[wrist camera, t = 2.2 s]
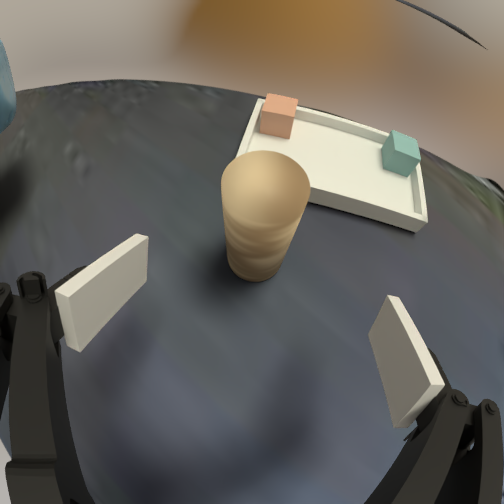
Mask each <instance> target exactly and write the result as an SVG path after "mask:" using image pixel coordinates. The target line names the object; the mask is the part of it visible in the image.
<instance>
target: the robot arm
mask: <svg viewBox="0 0 504 504" xmlns="http://www.w3.org/2000/svg"><path fill="white" fill-rule="evenodd" d="M15 113H16V94H15V88H14V83H13V78H12V74H11V70H10V66H9V62H8V58H7V55H6V52H5V49H4V46H3V43H2V42H1V40H0V133H1V132H2V131H4V130H5V129H6V128H7V127H8V126H9V125H10V123H11V122H12V120H13V119H14V116H15ZM148 238H149V237H148V236H144V235H140V234H135V235H134V236H132V237H131V238H129V239H127V240H126V241H124V242H123V243H121V244H120V245H118V246H117V247H115V248H114V249H112V250H111V251H109V252H108V253H106V254H105V255H103V256H102V257H101V258H99V259H98V260H96V261H95V262H93V263H92V264H90V265H89V266H83V267H80V268H77V269H75V270H74V271H72V272H71V273H69V275H67V276H65V277H64V278H63V279H61V280H60V281H58V282H57V283H55V284H54V285H53V286H51V287H50V288H49V289H47V285H46V280H45V275H44V274H43V273H40V272H35V271H32V272H27V273H24V274H22V275H21V276H20V277H18V279H17V286H18V290H19V295H20V296H17V295H12V292H11V288H10V285H9V284H7V283H0V419H1V415H2V410H3V406H4V402H5V398H6V394H7V390H8V387H9V425H10V440H11V450H12V460H11V461H10V462H7V464H6V467H5V472H6V480H7V486H8V491H9V496H10V500H11V504H95V503H94V501H93V499H92V497H91V495H90V494H89V492H88V490H87V487H86V485H85V482H84V478H83V475H82V472H81V469H80V465H79V461H78V458H77V454H76V450H75V446H74V442H73V437H72V432H71V427H70V422H69V417H68V411H67V405H66V398H65V390H64V382H63V372H62V359H61V345H60V342H59V340H60V339H61V338H62V337H63V336H65V340H66V344H67V346H69V347H71V348H73V349H74V350H76V351H78V352H81V351H82V350H83V349H84V348H85V346H86V345H87V344H88V343H89V342H90V341H91V340H92V339H93V338H94V336H95V335H96V334H97V333H98V332H99V331H100V330H101V329H102V328H103V326H104V325H105V324H106V323H107V322H108V321H109V320H110V319H111V318H112V317H113V316H114V315H115V314H116V312H117V311H118V310H119V309H120V308H121V307H122V306H123V305H124V304H125V303H126V302H127V301H128V300H129V299H130V298H131V297H132V296H133V295H134V293H135V292H136V291H137V290H138V289H139V288H140V287H141V286H142V285H143V284H144V283H145V282H146V281H147V256H148ZM368 337H369V340H370V343H371V346H372V350H373V353H374V356H375V360H376V363H377V366H378V370H379V373H380V377H381V380H382V384H383V387H384V391H385V395H386V399H387V403H388V406H389V410H390V414H391V419H392V423H393V427H394V428H408V427H409V426H410V425H411V424H412V423H413V422H414V421H415V420H416V421H417V425H418V426H417V427H416V428H415V429H414V430H413V431H412V432H411V433H410V434H409V435H408V436H407V437H406V438H405V439H404V441H406V440H407V439H408V438H409V439H408V440H407V442H406V444H405V445H404V447H403V449H402V450H401V452H400V454H399V455H398V457H397V458H396V460H395V462H394V463H393V465H392V466H391V468H390V469H389V471H388V472H387V474H386V475H385V476H384V478H383V479H382V481H381V482H380V483H379V485H378V486H377V487H376V489H375V490H374V491H373V493H372V494H371V495H370V497H369V498H368V499H367V500H366V502H365V503H364V504H501V499H502V487H503V442H502V428H501V418H500V411H499V408H498V407H497V404H496V403H495V402H494V401H491V400H490V399H484V400H483V401H482V402H481V403H480V404H479V405H478V406H475V405H471V404H469V401H468V399H467V397H466V396H465V395H464V394H463V393H462V392H461V391H459V390H456V389H452V388H451V385H450V383H449V381H448V379H447V377H446V375H445V373H444V371H443V370H442V367H441V365H440V364H439V361H438V359H437V357H436V355H435V354H434V353H433V352H432V351H431V350H430V349H429V348H427V347H426V345H425V343H424V341H423V339H422V338H421V336H420V334H419V332H418V330H417V328H416V327H415V325H414V323H413V321H412V319H411V318H410V316H409V314H408V312H407V311H406V309H405V307H404V306H403V304H402V302H401V301H400V299H399V297H394V296H390V295H387V296H386V299H385V301H384V303H383V305H382V307H381V309H380V311H379V314H378V316H377V318H376V320H375V322H374V324H373V326H372V328H371V330H370V332H369V333H368ZM473 443H474V446H473V448H472V449H471V450H470V445H471V444H473Z"/></svg>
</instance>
